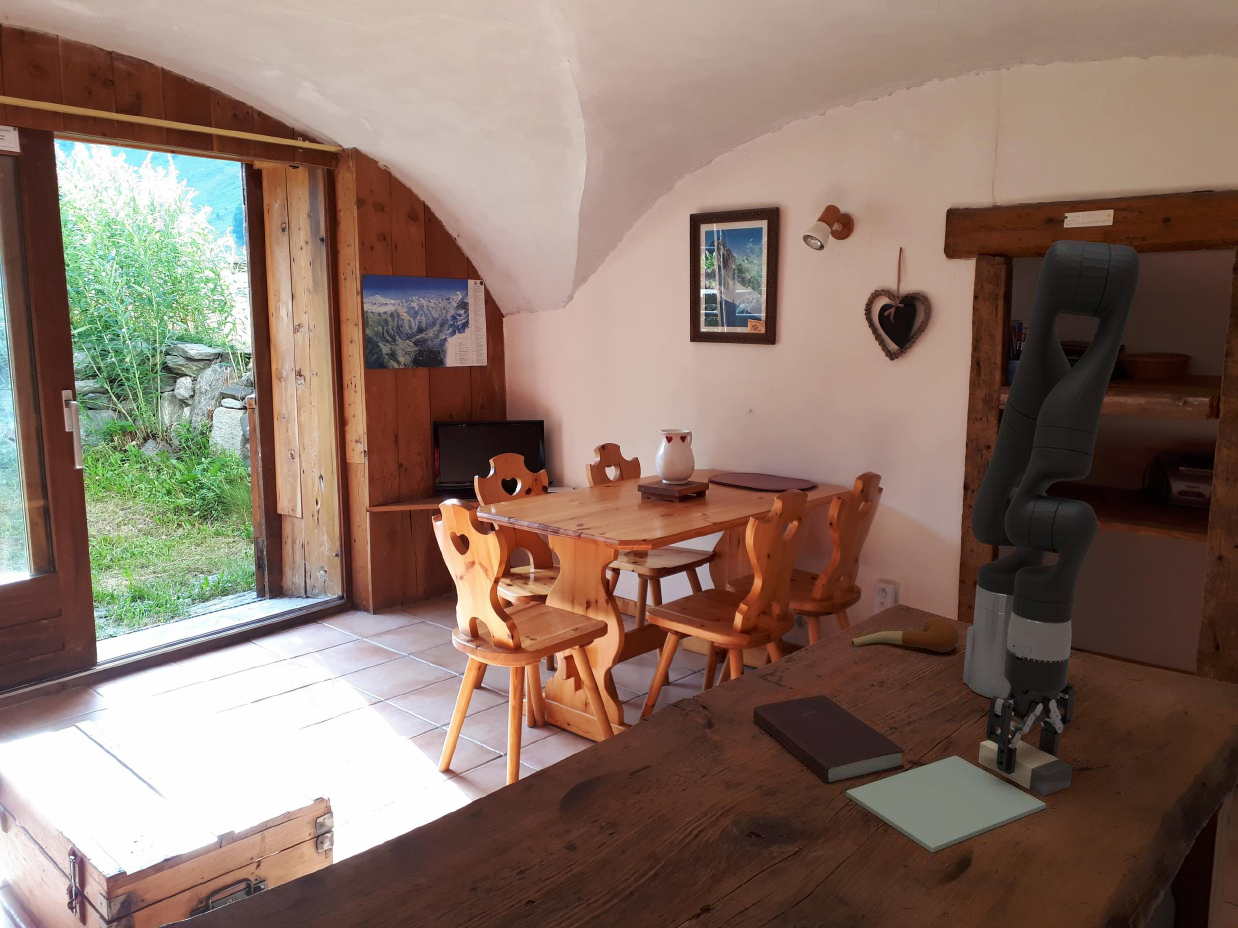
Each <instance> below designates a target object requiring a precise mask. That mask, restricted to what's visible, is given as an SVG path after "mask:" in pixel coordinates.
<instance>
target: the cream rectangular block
mask: <svg viewBox="0 0 1238 928" xmlns="http://www.w3.org/2000/svg"><path fill="white" fill-rule="evenodd" d="M1011 736H1012V735H1011V734H1009V737H1010V738H1011ZM1016 748H1017V751H1016V762H1015V771H1014V773H1012V774H1009V775H1008V774H1006V773H1004V772H1002V771H1000V770H999V769H998V768H997V765H996V760H997V749H998V744H996V743H994V742H992V741H989V740H987V739H986V740H984V741H981V742H980V743H979V752H978V763H979V764H981V765H983V766H984V767H986V768H989V769H990V770H992V771H994V772H995V773H998V774H1000V775H1001V776H1004V777H1005V778H1008V779H1009V780H1011V781H1013V782H1015V783H1016V784H1018V785H1021V786H1022V787H1023V788H1026V789H1028V790H1030V791H1032V792H1034V793H1036V794H1038V796H1041V797H1045V796H1048V795H1051V794H1054V793H1057V792H1059V791H1061V790H1064V789H1068V788H1069V787H1071V784H1072V776H1073V767H1074V766H1073V765H1072V764H1071V763H1069V762H1066V761H1065V760H1062V759H1060V758H1058V757H1057V756H1056V757H1054V756H1052V755H1050V754H1048V753H1046V752H1043V751H1041V750H1039V748H1037V747H1034V746H1033V745H1031V744H1029V743H1027V742H1024V741H1023V740H1021V739H1020V740H1019V741H1018V743H1017V745H1016Z"/></svg>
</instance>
